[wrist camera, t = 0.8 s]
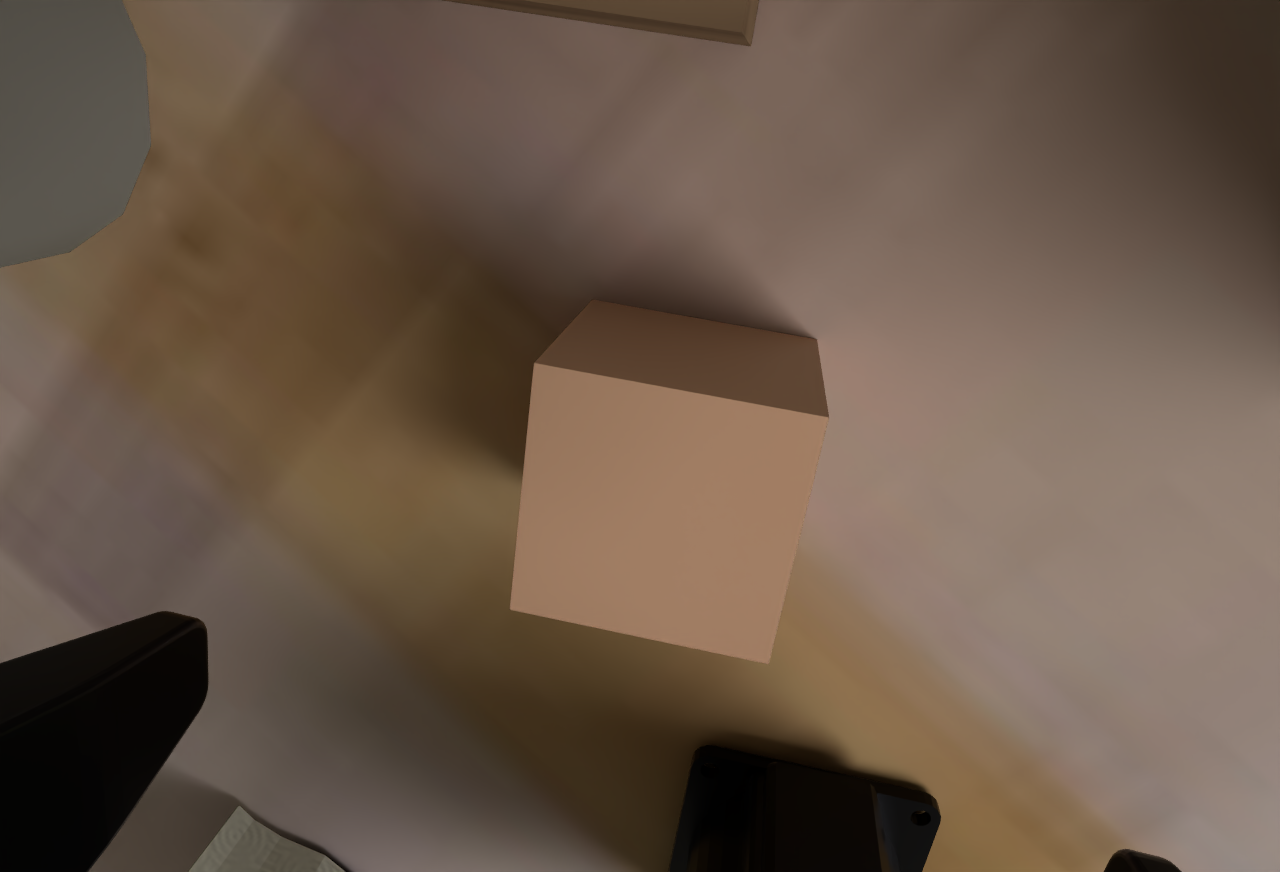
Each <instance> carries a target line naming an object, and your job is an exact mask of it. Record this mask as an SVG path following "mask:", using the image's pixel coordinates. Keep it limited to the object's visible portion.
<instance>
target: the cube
mask: <svg viewBox="0 0 1280 872" xmlns="http://www.w3.org/2000/svg"><path fill="white" fill-rule="evenodd" d="M828 420H829V414H828V408H827V401H826V395H825V389H824V382H823V376H822V369H821V363H820V356H819V350H818V343H817V339H812V338H806V337H801V336H795V335H789V334H784V333H778V332H772V331H767V330H761V329H756V328H750V327H744V326H739V325H733V324H728V323H722V322H716V321H711V320H705V319H699V318H694V317H688V316H683V315H677V314H671V313H666V312H660V311H655V310H649V309H643V308H638V307H632V306H626V305H621V304H615V303H610V302H604V301H598V300H593V299H592V300H591V301H590V302H589V304H588V305H587V306H586V307H585V308H584V309H583V310H582V311H581V312H580V313H579V314H578V316H577V317H576V318H575V319H574V320H573V321H572V322H571V323H570V324H569V325H568V326H567V328H566V329H565V330H564V331H563V332H562V333H561V334H560V335H559V336H558V337H557V338H556V340H555V341H554V342H553V343H552V344H551V345H550V346H549V347H548V348H547V349H546V350H545V352H544V353H543V354H542V355H541V356H540V357H539V358H538V359H537V360H536V361H535V362H534V368H533V378H532V388H531V399H530V409H529V419H528V429H527V439H526V450H525V460H524V470H523V480H522V490H521V501H520V511H519V521H518V531H517V541H516V552H515V562H514V572H513V582H512V592H511V603H510V610H514V611H518V612H523V613H528V614H533V615H537V616H542V617H547V618H552V619H556V620H561V621H566V622H571V623H575V624H580V625H585V626H590V627H594V628H599V629H604V630H609V631H613V632H618V633H623V634H628V635H632V636H637V637H642V638H647V639H651V640H656V641H661V642H666V643H670V644H675V645H680V646H685V647H689V648H694V649H699V650H703V651H708V652H713V653H718V654H722V655H727V656H732V657H737V658H741V659H746V660H751V661H756V662H760V663H765V664H769V661H770V657H771V653H772V648H773V644H774V640H775V636H776V632H777V628H778V624H779V620H780V616H781V612H782V608H783V604H784V599H785V595H786V591H787V587H788V583H789V579H790V575H791V571H792V567H793V563H794V559H795V554H796V550H797V546H798V542H799V538H800V534H801V530H802V526H803V522H804V518H805V514H806V510H807V505H808V501H809V497H810V493H811V489H812V485H813V481H814V477H815V473H816V469H817V465H818V460H819V456H820V452H821V448H822V444H823V440H824V436H825V432H826V428H827V424H828Z"/></svg>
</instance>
